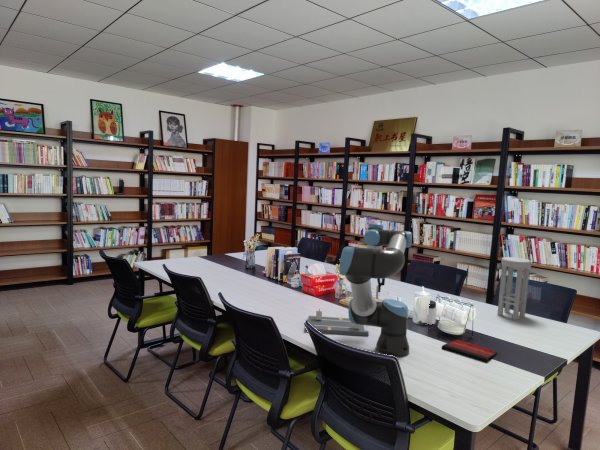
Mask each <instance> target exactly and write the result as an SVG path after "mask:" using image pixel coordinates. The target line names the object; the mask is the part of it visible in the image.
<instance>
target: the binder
mask: <svg viewBox="0 0 600 450" xmlns="http://www.w3.org/2000/svg"><path fill="white" fill-rule="evenodd" d="M441 350H444V351H448V352H451V353H453V354H457V355H460V356H463V357H467V358H469V359H473V360H475V361H480V362H483V363H485V364H487V363H488V361H491V360H492V359H493V358H495V356H497V355H498V352H497V351H496V350H494V349H493V350H492V349H490V348H488V347H485V346H481V345H477V344H476V343H471V342H468V341H464V340H460V339H454V340H451V341H449V342H447V343H445V344H442V346H441Z"/></svg>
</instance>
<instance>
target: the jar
mask: <svg viewBox="0 0 600 450" xmlns="http://www.w3.org/2000/svg"><path fill="white" fill-rule="evenodd" d="M429 300H430V304H429V305H430V306H429V314H428V315H427V324H426V325H428V324H429V325H428V326H431V325H432V324H433V325H434V324H436V322H437V319H436V318H437V308H436V307H437V302H436V301H435V300H431V299H429ZM433 325H432V326H433Z"/></svg>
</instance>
